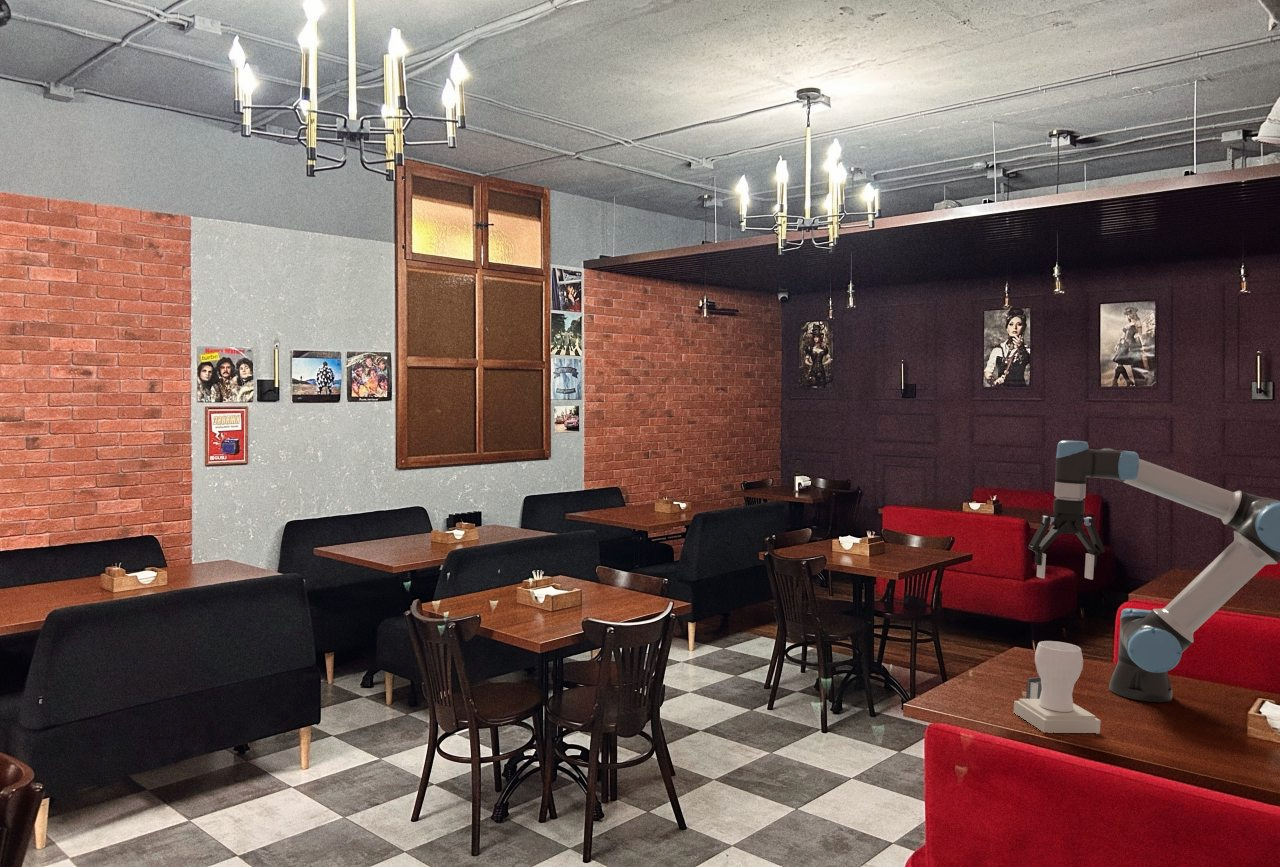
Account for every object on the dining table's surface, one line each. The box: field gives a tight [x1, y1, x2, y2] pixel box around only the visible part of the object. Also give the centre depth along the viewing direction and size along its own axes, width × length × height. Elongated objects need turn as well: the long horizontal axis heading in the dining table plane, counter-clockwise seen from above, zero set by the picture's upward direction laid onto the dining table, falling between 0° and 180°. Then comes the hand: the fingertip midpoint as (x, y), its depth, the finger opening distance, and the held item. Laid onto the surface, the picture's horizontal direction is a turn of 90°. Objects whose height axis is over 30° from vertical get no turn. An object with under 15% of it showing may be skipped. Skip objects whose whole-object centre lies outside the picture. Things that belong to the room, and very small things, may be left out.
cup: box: [1034, 640, 1084, 712], centre depth 225 cm, size 11×11×15 cm
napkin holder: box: [1025, 676, 1042, 699], centre depth 239 cm, size 10×4×7 cm, turn 116°
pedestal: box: [1013, 698, 1102, 735], centre depth 225 cm, size 14×14×4 cm
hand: (1064, 578), depth 246 cm, fingers open, 13 cm apart
